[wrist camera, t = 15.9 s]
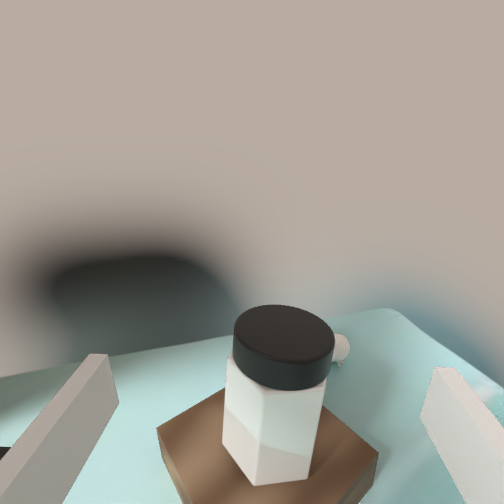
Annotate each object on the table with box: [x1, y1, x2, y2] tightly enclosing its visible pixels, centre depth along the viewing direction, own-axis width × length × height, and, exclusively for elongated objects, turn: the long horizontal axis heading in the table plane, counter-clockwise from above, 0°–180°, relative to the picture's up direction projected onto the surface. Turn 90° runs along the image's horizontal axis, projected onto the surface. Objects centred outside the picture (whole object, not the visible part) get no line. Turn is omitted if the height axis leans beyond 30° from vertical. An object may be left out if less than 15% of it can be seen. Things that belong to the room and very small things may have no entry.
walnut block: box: [156, 388, 379, 504], centre depth 28 cm, size 15×15×5 cm
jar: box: [222, 305, 335, 486], centre depth 25 cm, size 9×8×12 cm
